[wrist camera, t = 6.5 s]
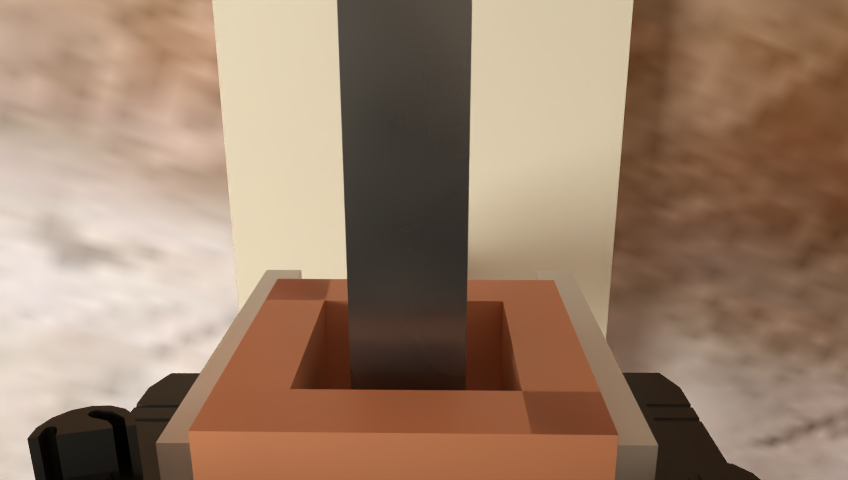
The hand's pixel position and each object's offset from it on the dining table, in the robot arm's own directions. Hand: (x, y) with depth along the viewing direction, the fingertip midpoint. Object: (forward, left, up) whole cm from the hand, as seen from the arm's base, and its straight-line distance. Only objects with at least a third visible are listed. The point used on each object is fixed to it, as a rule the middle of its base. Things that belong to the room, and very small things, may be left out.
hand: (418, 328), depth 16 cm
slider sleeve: (0, 0, -3) cm, 3 cm away
